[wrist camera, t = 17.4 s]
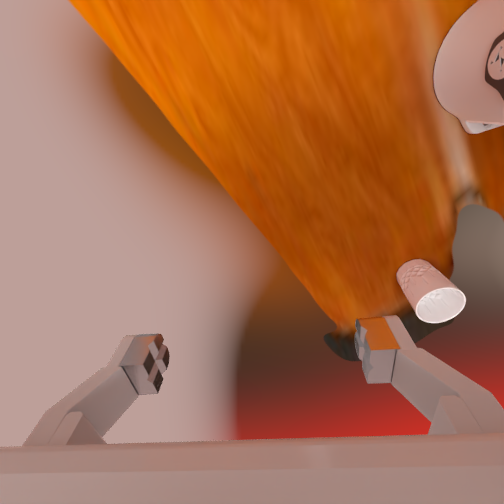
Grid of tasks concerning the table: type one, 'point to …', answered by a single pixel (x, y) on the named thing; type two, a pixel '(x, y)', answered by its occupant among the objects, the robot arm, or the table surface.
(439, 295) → the white cup
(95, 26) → the table surface
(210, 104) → the table surface
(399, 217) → the table surface
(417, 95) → the table surface
